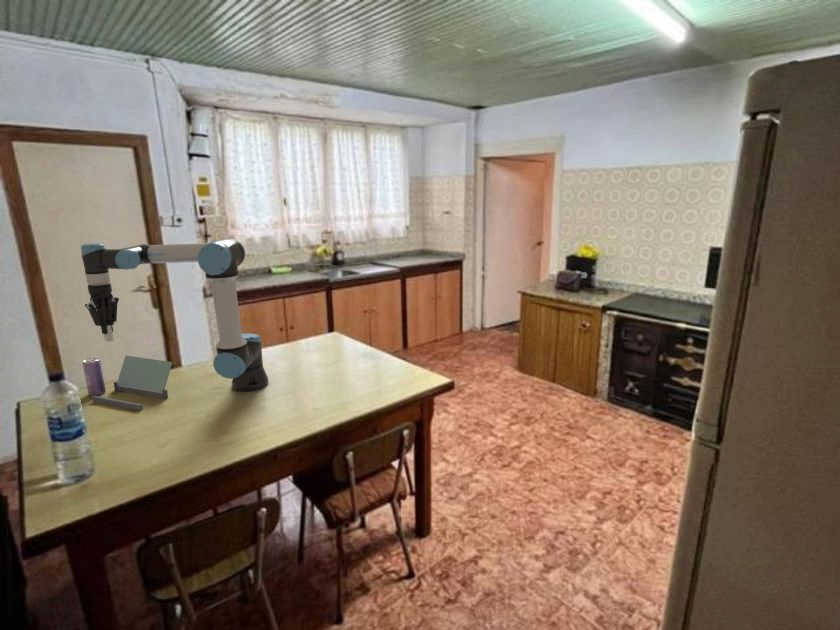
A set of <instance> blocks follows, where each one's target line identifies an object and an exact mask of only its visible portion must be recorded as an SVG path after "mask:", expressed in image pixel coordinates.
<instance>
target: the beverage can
mask: <svg viewBox="0 0 840 630" xmlns="http://www.w3.org/2000/svg"><path fill="white" fill-rule="evenodd" d="M82 368H83V373H84V378H85V383H86V384H85V385H86V388H87V394H88V395H89V396H91V397H93V396H99V397H100V396H102V395H104V394H105V393H106V391H107V390H106V385H105V384H106V383H105V379H104V375H103V368H102V362H101V360H100V358H99V357H89V358H87V359H83V360H82Z"/></svg>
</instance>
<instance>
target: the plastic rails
mask: <svg viewBox="0 0 840 630" xmlns="http://www.w3.org/2000/svg"><path fill="white" fill-rule="evenodd" d="M117 382H118V381H114V382H113V387H114V391H116V392H117V391H119V392H122V393H123V392H124V393H127V394H129V393H130V394H133V395H134V394H135V395H140V396H146V397H152V398H158V399H163V400H167V399H169V393H168V389H165V390H163V392H158V391H152V390H146V389H140V388H134V387H128V386H122V385H117ZM92 401H93V403H97V404H104V405H109V406H114V407H120V408H125V409H131V410H136V411H142V410H143V409H144V408H143V404H142V403H136V402H132V401H127V400H120V399H114V398H111V397H110V398H108V397H103V396H100V395H99V396H92Z"/></svg>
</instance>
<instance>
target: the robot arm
mask: <svg viewBox="0 0 840 630" xmlns="http://www.w3.org/2000/svg"><path fill="white" fill-rule="evenodd" d="M80 249H81V250H80V251H81V259H82V263H83V267H84V273H85V279H86V284H88V285H87V290H88V294H89V298H90V299H89V302H88V303H85V304H84V307H85V308H86V309H88V312H89V314H90V316H91V318H92V321H93V323H94V326H97V327H100V329H101V333H102V335H103V337H104V341H105V342H109V343H110V342H113V341H114V336H113V335H114V334H113V332H114V327H113V325H115V323H117V322H118V321H117V320H118V303H119V301H120V298H119V297H115V296H114V295H113V293H112V292H113V289H112V283H110V282H111V276H110V272H109V269H110V270H111V269H112V270H126V271H127V270H134V269H137V268H138V266H139V265H146V264H147V265H149V264H171V263H173V264H175V263H176V264H177V263H179V264H180V263H198V266H199V267H200V270H202V271H203V272H204V274H205V279H206V280H208V281H209V282H210V283H211V291H212V297H213V304H214V305H213V306H214V312H215V321H216V326H217V334H218V342H217V343H216V345H215V349H216V356H215V357H214V359H213V365H212V366H213V369H214V371H215V372H216V373H217V375H219V376H221V377H222V378H223V379H224V378H225V379H231V388H232V389H233V390H235V391H239V392H252V390H254V391H256V390H257V389H258V390H260V388H261V389H263V388H265V387H266V386H268V384H269V377H268V375H267V373H266V370H265V368H264V364H263V363H264V362H263V350H262V341H261V340H262V339H261V336H260V335H259V334H256V333H243V331H242V324H241V317H240V307H239V302H238V300H239V299H238V293H237V285H236V279H237V278H238V277H239V275H240V274H239V266H241V264H242V263H244V261H245V259H246V250H245V248H244V245H242V243H241V242H240V241H238V240H237V239H234V238H224V239H218V240H217V239H216V240H212V241H211V242H206V243H176V244H175V243H174V244H173V243H172V244H169V243H168V244H139V245H135V246H129V247H123V248H118V249H117V248H115V249H114V248H113V249H112V248H111V249H110V248H109V249H107V248H106V247H105V245H104V244H103V243H100V242H93V243H85V244H82V245H81V246H80ZM264 386H265V387H264ZM262 387H263V388H262Z"/></svg>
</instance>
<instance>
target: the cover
mask: <svg viewBox="0 0 840 630" xmlns="http://www.w3.org/2000/svg"><path fill="white" fill-rule="evenodd" d="M172 366H173V362H172V361H166V360H159V359H154V358H145V357H138V356H132V355H125V356H124V359H123V362H122V365H121V369H120V372H119V376H118V379H117V381H116V382H117V385H122V386H128V387H134V388H140V389H146V390H152V391H158V392H163V390H166V386H167V383H168V380H169V376H170V372H171V368H172Z"/></svg>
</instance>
